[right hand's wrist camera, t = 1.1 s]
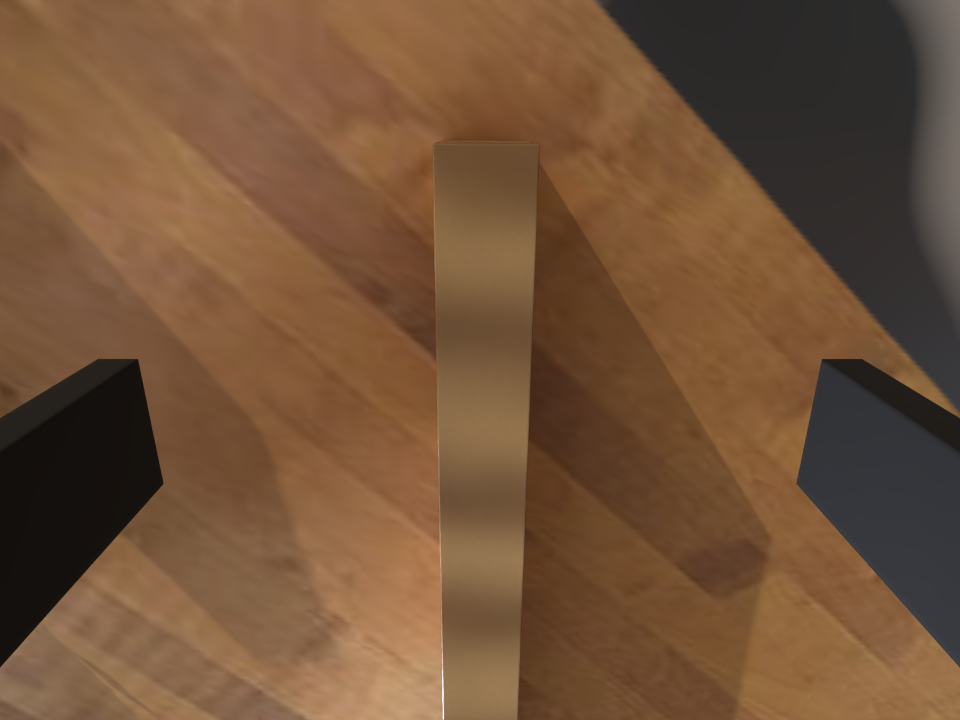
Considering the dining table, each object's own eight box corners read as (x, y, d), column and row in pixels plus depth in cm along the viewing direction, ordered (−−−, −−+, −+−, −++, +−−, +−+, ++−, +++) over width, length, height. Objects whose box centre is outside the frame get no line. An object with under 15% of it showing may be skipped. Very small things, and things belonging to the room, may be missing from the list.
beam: (442, 139, 34) (432, 143, 27) (526, 140, 34) (539, 144, 27) (453, 939, 60) (449, 1055, 52) (501, 939, 60) (504, 1056, 52)
